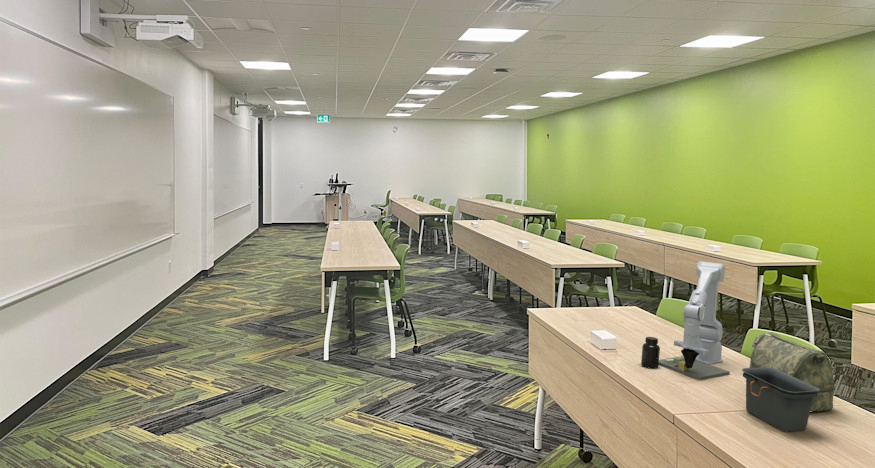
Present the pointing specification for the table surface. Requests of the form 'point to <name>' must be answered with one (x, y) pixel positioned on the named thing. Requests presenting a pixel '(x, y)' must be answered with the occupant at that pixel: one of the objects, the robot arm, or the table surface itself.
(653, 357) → the supplement bottle
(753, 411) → the storage bin
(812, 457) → the table surface
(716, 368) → the base
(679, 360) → the bar
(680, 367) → the yellow wooden cube
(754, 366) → the lunch bag
